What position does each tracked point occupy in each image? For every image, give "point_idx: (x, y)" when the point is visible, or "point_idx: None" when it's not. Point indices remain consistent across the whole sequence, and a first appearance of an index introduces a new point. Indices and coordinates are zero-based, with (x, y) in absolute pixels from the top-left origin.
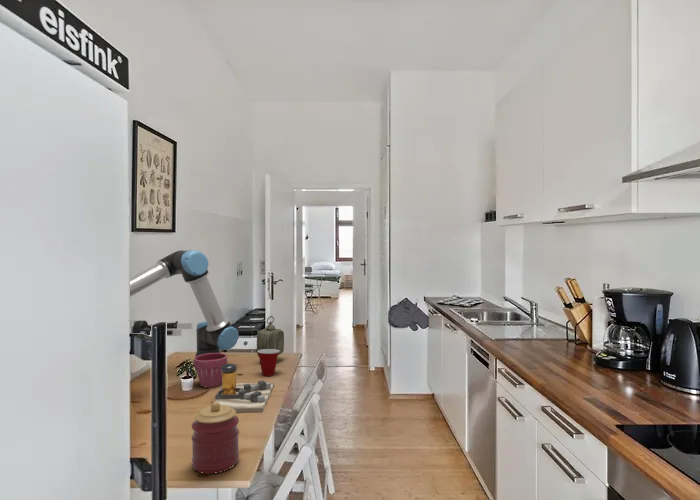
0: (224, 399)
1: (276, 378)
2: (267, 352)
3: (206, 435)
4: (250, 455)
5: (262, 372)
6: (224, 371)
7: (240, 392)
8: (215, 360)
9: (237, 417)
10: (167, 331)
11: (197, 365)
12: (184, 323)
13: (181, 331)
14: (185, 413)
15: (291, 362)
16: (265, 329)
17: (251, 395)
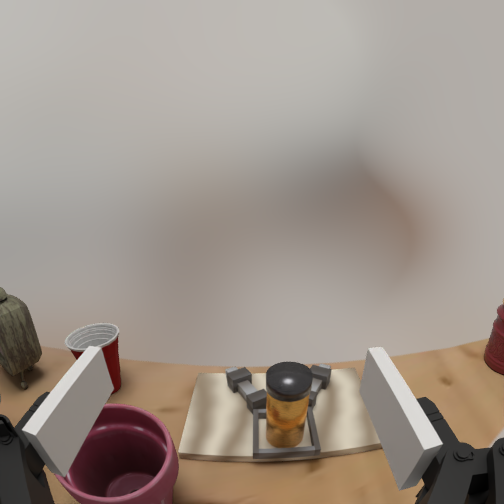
0: (318, 436)
1: (143, 376)
2: (72, 344)
3: None
4: (474, 346)
5: None
6: (310, 388)
7: (314, 397)
8: (168, 431)
9: (500, 305)
10: (443, 419)
11: (155, 498)
12: (72, 387)
13: (364, 367)
14: (400, 490)
15: (49, 350)
16: None
17: (328, 377)
